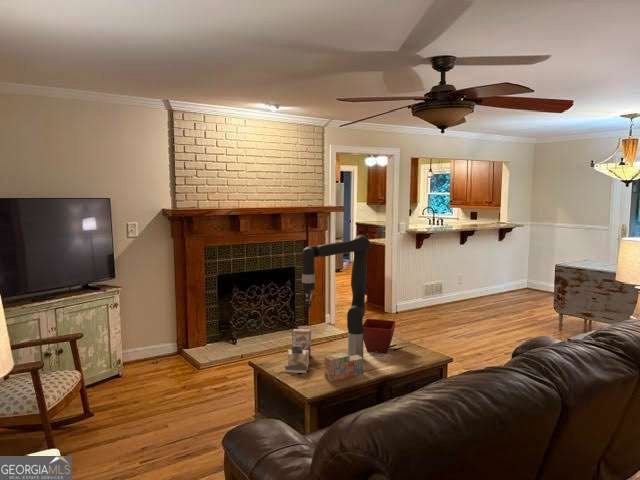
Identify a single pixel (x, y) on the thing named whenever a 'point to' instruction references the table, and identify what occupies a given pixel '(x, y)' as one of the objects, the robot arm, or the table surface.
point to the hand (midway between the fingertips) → (308, 308)
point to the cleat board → (298, 368)
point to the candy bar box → (302, 339)
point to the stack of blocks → (342, 366)
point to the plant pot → (378, 335)
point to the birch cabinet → (297, 356)
